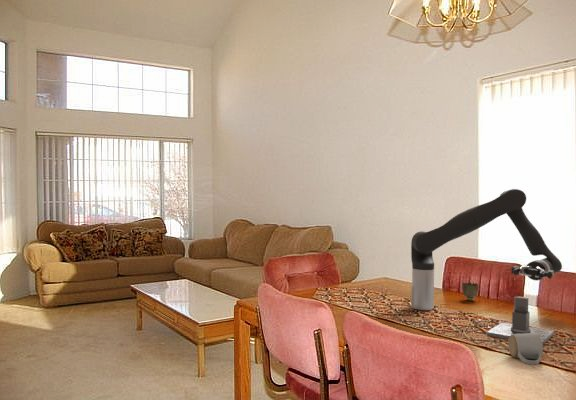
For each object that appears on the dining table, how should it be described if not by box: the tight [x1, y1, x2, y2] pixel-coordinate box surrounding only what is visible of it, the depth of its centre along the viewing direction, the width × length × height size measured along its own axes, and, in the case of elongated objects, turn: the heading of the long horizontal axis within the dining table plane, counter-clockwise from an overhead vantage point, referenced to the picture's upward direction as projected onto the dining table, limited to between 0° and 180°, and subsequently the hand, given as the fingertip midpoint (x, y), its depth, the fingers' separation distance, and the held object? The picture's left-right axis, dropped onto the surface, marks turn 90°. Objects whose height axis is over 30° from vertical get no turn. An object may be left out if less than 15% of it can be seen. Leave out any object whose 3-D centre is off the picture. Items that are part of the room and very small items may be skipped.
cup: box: [461, 281, 479, 302], centre depth 241 cm, size 8×7×8 cm
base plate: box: [486, 322, 555, 346], centre depth 183 cm, size 18×18×5 cm
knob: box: [511, 296, 530, 331], centre depth 183 cm, size 5×5×11 cm
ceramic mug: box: [507, 333, 544, 366], centre depth 156 cm, size 11×8×8 cm
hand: (527, 273), depth 192 cm, fingers open, 8 cm apart
